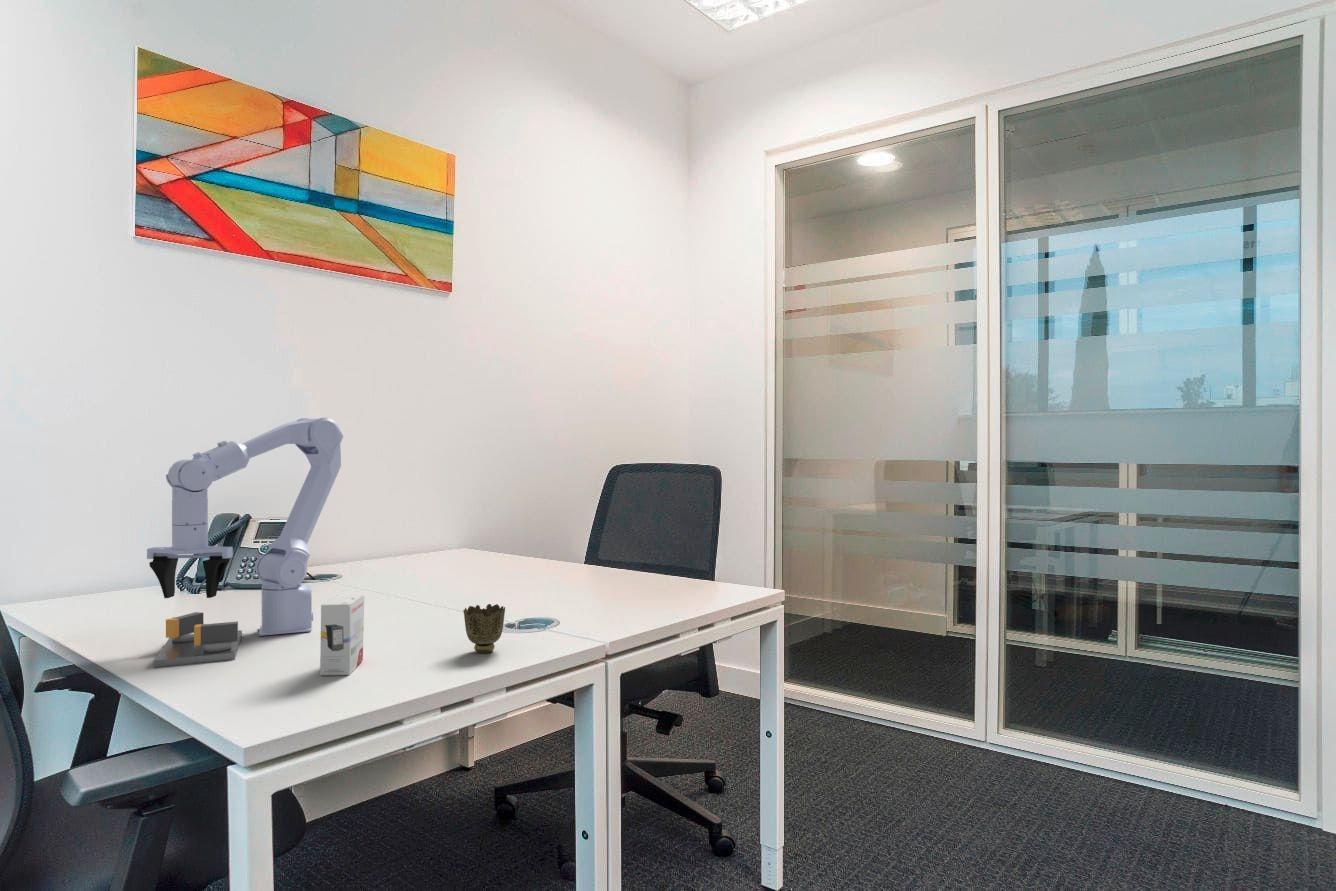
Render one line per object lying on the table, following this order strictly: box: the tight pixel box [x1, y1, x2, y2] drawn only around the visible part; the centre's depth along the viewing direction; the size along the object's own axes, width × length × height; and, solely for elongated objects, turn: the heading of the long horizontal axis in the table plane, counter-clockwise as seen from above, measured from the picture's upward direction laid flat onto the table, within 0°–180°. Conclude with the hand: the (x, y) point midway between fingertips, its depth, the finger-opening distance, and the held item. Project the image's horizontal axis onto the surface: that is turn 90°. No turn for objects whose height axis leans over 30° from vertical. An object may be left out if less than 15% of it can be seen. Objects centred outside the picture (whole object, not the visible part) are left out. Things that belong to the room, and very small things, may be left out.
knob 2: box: [194, 621, 239, 652], centre depth 141 cm, size 7×4×4 cm, turn 115°
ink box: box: [319, 594, 365, 676], centre depth 133 cm, size 9×5×12 cm, turn 6°
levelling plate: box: [153, 629, 243, 668], centre depth 145 cm, size 12×18×3 cm, turn 25°
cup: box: [462, 603, 506, 654], centre depth 144 cm, size 8×7×8 cm
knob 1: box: [165, 611, 204, 642], centre depth 148 cm, size 7×4×4 cm, turn 167°
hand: (190, 597), depth 147 cm, fingers open, 7 cm apart
